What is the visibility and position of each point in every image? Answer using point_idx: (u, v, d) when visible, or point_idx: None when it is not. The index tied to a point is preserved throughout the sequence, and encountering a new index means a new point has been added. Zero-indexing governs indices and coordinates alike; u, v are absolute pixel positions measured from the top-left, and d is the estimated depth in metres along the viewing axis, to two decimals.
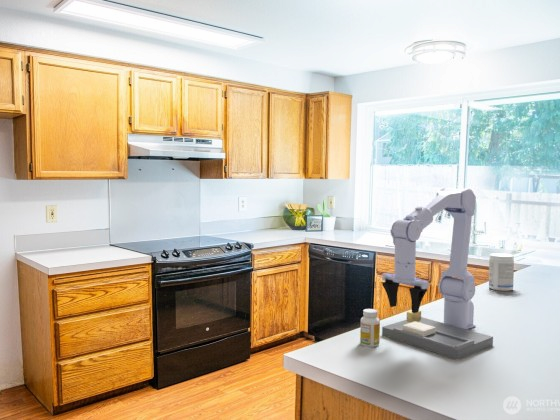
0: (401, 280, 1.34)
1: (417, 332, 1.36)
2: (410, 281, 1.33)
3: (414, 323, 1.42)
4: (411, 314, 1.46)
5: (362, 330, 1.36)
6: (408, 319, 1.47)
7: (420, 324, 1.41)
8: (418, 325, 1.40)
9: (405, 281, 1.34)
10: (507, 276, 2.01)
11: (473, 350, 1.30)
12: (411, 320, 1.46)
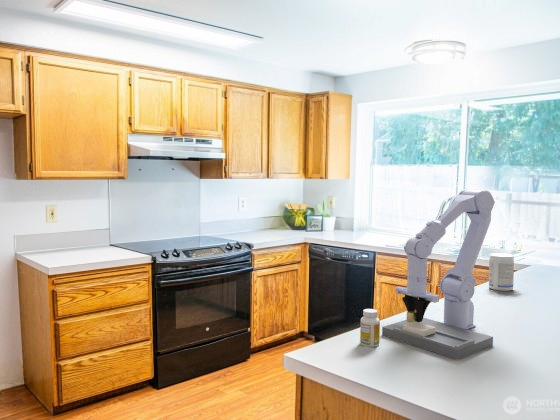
0: (413, 294, 1.45)
1: (417, 332, 1.36)
2: (422, 295, 1.44)
3: (414, 323, 1.42)
4: (411, 314, 1.46)
5: (362, 330, 1.36)
6: (408, 319, 1.47)
7: (420, 324, 1.41)
8: (418, 325, 1.40)
9: (417, 295, 1.45)
10: (507, 276, 2.01)
11: (473, 350, 1.30)
12: (411, 320, 1.46)
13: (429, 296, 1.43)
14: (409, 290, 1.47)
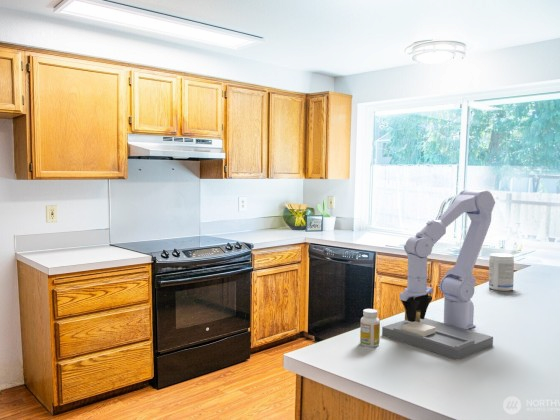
0: None
1: (417, 332, 1.36)
2: (404, 291, 1.47)
3: (414, 323, 1.42)
4: (405, 311, 1.49)
5: (362, 330, 1.36)
6: None
7: (420, 324, 1.41)
8: (418, 325, 1.40)
9: None
10: (507, 276, 2.01)
11: (473, 350, 1.30)
12: (405, 317, 1.49)
13: None
14: None
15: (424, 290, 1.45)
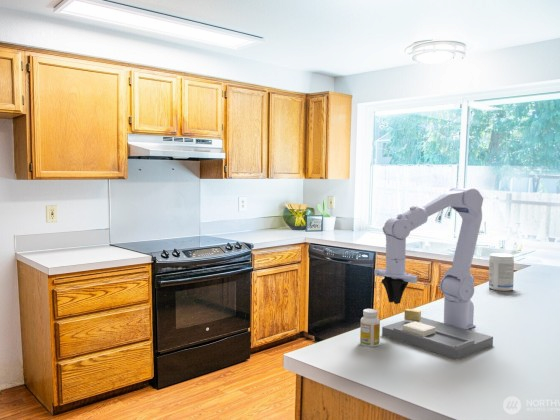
0: (392, 275, 1.43)
1: (417, 332, 1.36)
2: (400, 276, 1.42)
3: (414, 323, 1.42)
4: (405, 311, 1.49)
5: (362, 330, 1.36)
6: None
7: (420, 324, 1.41)
8: (418, 325, 1.40)
9: (395, 276, 1.42)
10: (507, 276, 2.01)
11: (473, 350, 1.30)
12: (404, 317, 1.49)
13: (407, 277, 1.41)
14: (387, 271, 1.44)
15: None
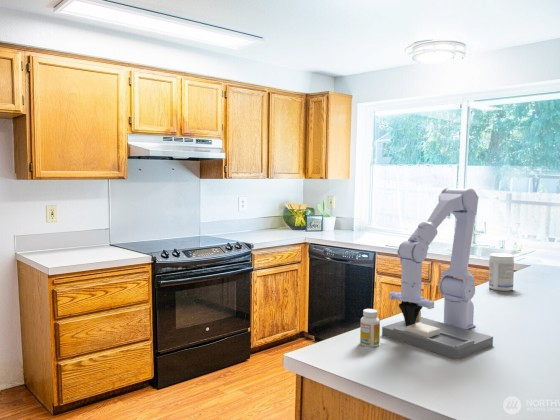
0: (407, 300, 1.39)
1: (421, 333, 1.35)
2: (416, 301, 1.38)
3: (418, 324, 1.41)
4: None
5: (362, 330, 1.36)
6: None
7: (424, 325, 1.40)
8: (422, 326, 1.39)
9: (411, 301, 1.38)
10: (507, 276, 2.01)
11: (473, 350, 1.30)
12: None
13: (424, 302, 1.36)
14: (403, 296, 1.40)
15: None
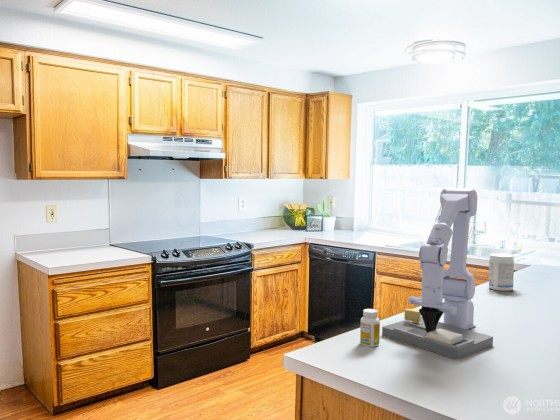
0: (429, 305, 1.33)
1: (443, 340, 1.30)
2: (438, 306, 1.32)
3: (439, 330, 1.35)
4: (405, 311, 1.49)
5: (362, 330, 1.36)
6: None
7: (446, 331, 1.34)
8: (444, 333, 1.33)
9: (433, 306, 1.33)
10: (507, 276, 2.01)
11: (473, 350, 1.30)
12: (404, 317, 1.49)
13: (446, 307, 1.31)
14: (424, 301, 1.35)
15: None
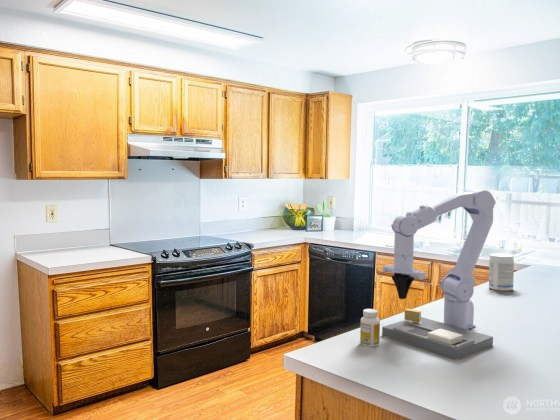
0: (400, 271, 1.46)
1: (444, 340, 1.30)
2: (408, 272, 1.45)
3: (439, 330, 1.35)
4: (405, 311, 1.49)
5: (362, 330, 1.36)
6: None
7: (446, 331, 1.34)
8: (444, 333, 1.33)
9: (404, 272, 1.46)
10: (507, 276, 2.01)
11: (473, 350, 1.30)
12: (404, 317, 1.49)
13: (415, 273, 1.44)
14: (396, 268, 1.47)
15: None
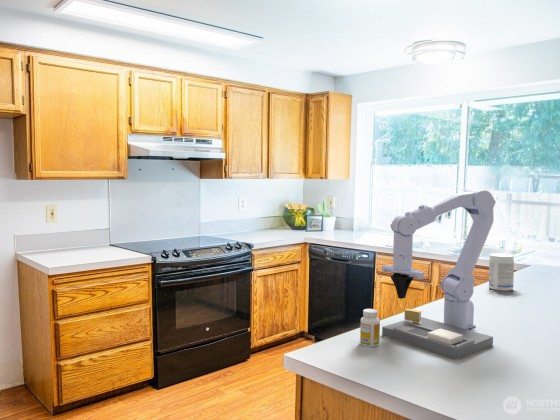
0: (399, 271, 1.47)
1: (444, 340, 1.30)
2: (407, 272, 1.45)
3: (439, 330, 1.35)
4: (405, 311, 1.49)
5: (362, 330, 1.36)
6: None
7: (446, 331, 1.34)
8: (444, 333, 1.33)
9: (403, 272, 1.46)
10: (507, 276, 2.01)
11: (473, 350, 1.30)
12: (404, 317, 1.49)
13: (414, 273, 1.44)
14: (395, 267, 1.48)
15: None
